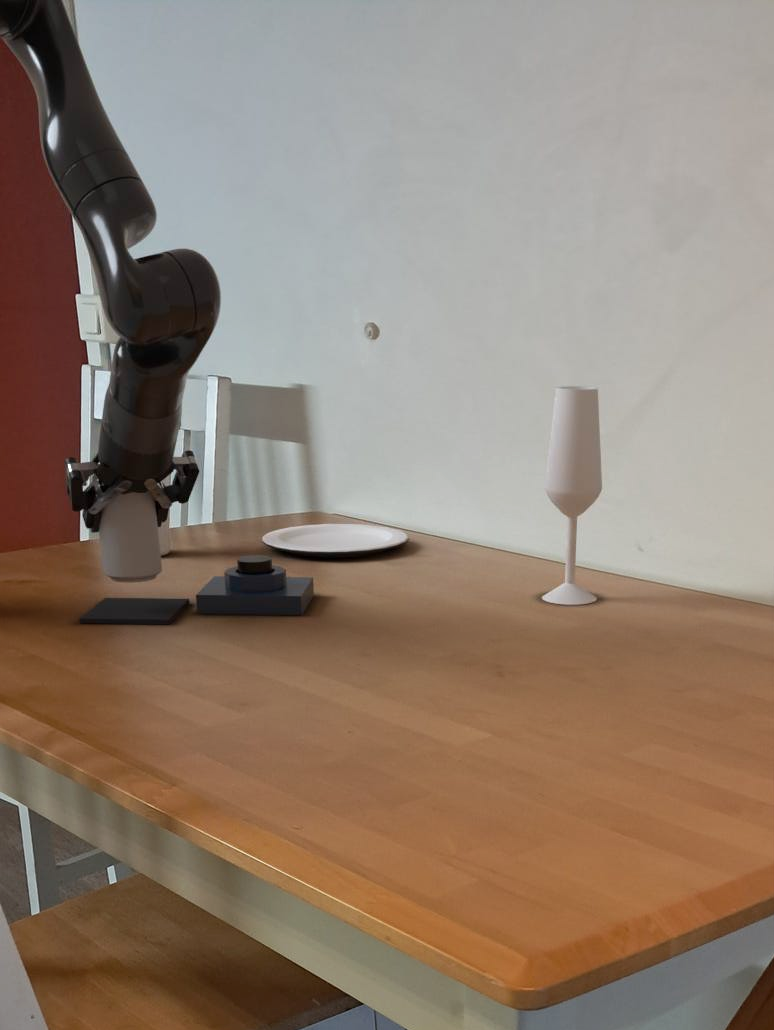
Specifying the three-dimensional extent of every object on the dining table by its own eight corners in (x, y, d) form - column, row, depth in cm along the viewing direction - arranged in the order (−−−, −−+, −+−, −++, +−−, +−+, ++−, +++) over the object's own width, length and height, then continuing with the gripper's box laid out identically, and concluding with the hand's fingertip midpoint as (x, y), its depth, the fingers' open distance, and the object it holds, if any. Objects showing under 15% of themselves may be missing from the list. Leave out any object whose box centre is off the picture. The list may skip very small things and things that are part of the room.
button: (234, 577, 147) (233, 562, 146) (241, 570, 150) (240, 555, 150) (269, 577, 147) (268, 562, 146) (275, 570, 150) (274, 555, 150)
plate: (297, 568, 169) (296, 555, 168) (240, 542, 185) (239, 530, 184) (434, 553, 179) (434, 541, 178) (369, 530, 195) (369, 518, 194)
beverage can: (114, 586, 140) (101, 473, 135) (97, 576, 145) (84, 466, 140) (170, 580, 143) (160, 469, 138) (151, 570, 148) (140, 463, 143)
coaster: (79, 623, 141) (78, 618, 141) (105, 602, 150) (104, 597, 150) (169, 624, 141) (168, 619, 141) (189, 603, 150) (189, 598, 150)
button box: (197, 614, 146) (194, 579, 144) (215, 594, 155) (212, 561, 153) (301, 615, 145) (300, 580, 144) (313, 595, 154) (312, 562, 153)
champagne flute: (536, 593, 156) (541, 385, 147) (588, 591, 158) (597, 385, 148) (548, 605, 150) (555, 390, 141) (603, 603, 152) (613, 390, 142)
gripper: (199, 390, 133) (177, 491, 147) (59, 394, 126) (50, 500, 141) (220, 448, 131) (195, 545, 145) (78, 456, 124) (67, 557, 139)
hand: (123, 523), depth 143 cm, fingers closed on beverage can, 6 cm apart
